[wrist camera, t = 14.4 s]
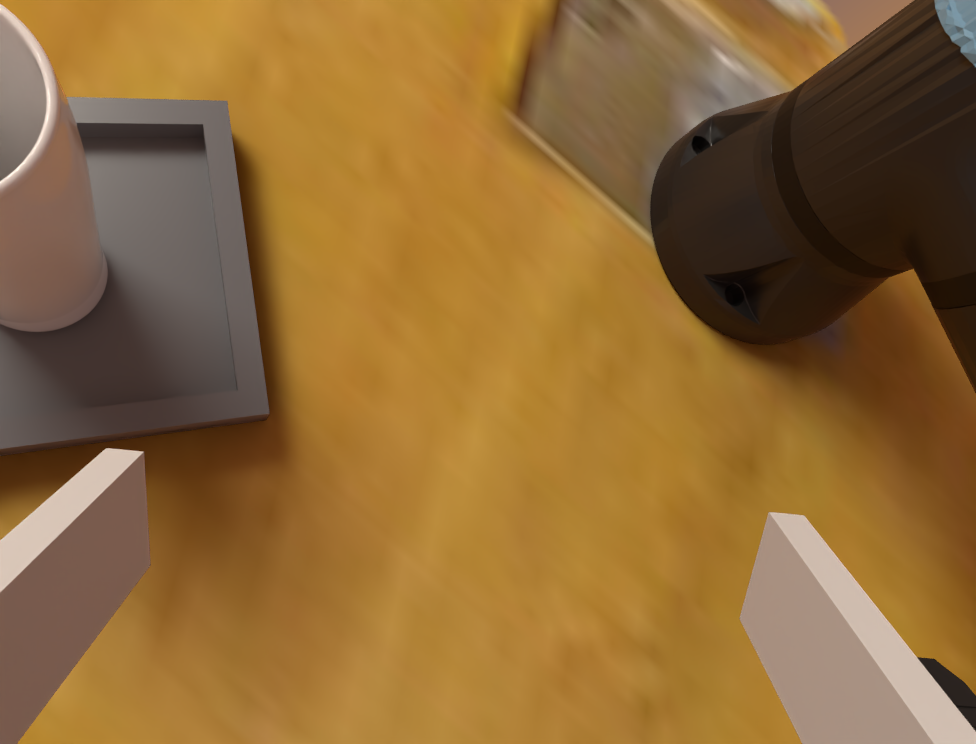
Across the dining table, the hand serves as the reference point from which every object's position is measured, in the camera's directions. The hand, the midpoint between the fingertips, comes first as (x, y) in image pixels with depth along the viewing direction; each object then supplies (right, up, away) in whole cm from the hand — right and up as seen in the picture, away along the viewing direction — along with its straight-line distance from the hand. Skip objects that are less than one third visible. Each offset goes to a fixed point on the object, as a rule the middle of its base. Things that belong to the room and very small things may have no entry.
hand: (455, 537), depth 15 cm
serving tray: (-19, +8, +17) cm, 27 cm away
